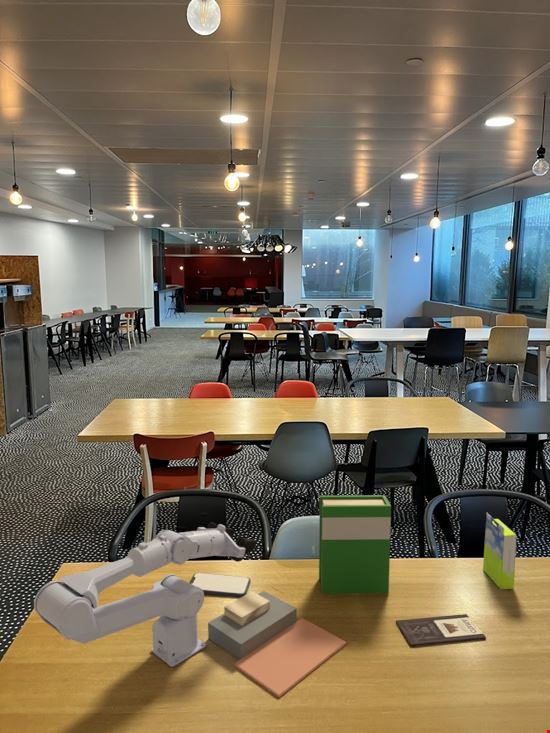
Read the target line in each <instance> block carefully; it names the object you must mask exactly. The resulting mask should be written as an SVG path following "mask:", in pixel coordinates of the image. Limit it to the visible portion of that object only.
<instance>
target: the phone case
mask: <svg viewBox="0 0 550 733" xmlns="http://www.w3.org/2000/svg"><path fill="white" fill-rule="evenodd" d="M188 583H190V584H192V585H194V586H196V587H199V588H201V589H202V590H203V592H204V596H216V597H229V598H241V597H243V596H245V595H246V594H248V591H249V588H250V586H251V578H250V577H248V576H247V577H246V576H238V575H225V574H215V573H206V572H205V573H204V572H196V573H194V574H193V575H192V577H191V579H190V581H189V582H188Z"/></svg>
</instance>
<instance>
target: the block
mask: <svg viewBox="0 0 550 733" xmlns="http://www.w3.org/2000/svg"><path fill="white" fill-rule="evenodd" d="M257 594H258V595H260V596H262V597H264V598H265V599H267V600H269V601H270V609H269V610H267V611H265V612H264V613H262V614H261V615H259V616H257V617H256V618H254V619H252V620H251V621H249V622H247V623H246V624H244V625H243V626H242V625H240V624H238V623H237V622H235V621H234V620H232V619H230V618H229V617H227V616H225V615H224V613H222V614H221V615H219V616H217V617H216V618H213V619H212V620H210V621H209V622H207V629H208V631H207V635H208V636H207V638H208V640H210V641H211V642H212V643H214V644H215V645H216V646H218V647H220V648H221V649H222V648H223V649H222V650H224V651H225V650H226V651H225V652H227V653H228V654H230V655H231V656H233V657H235V659H237V661H239V660H240V659H242V658H243V657H245V656H246V655H248V654H249V653H251V652H252V651H254V650H255V649H257V648H258V647H260V646H261V645H263V644H264V643H266V642H267V641H268V640H270V639H271V638H273V637H274V636H276V635H277V634H279V633H280V632H282V631H283V630H285V629H286V628H288V627H289V626H291V625H292V624H294V623H295V622H297V621H298V620H297V618H298V616H297V615H298V613H297V612H298V611H297V610H298V609H297V608H296V606H293V605H292V604H289V603H287V602H286V601H284V600H282V599H281V598H279V597H277V596H275V595H273V594H271V593H270V592H267V591H265V590H263V591H261V592H259V593H257Z"/></svg>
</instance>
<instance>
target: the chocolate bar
mask: <svg viewBox="0 0 550 733" xmlns="http://www.w3.org/2000/svg"><path fill="white" fill-rule="evenodd" d="M395 624H396V626H397V628H398V629H399V631H400V632H401V633H402V635H403V637H404V638H405V640H406V642H407V644H408V645H409V647H410V648H415V647H425V646H433V645H434V646H435V645H446V644H452V643H453V644H454V643H455V644H456V643H463V642H465V643H466V642H474V641H483V640H486V639H487V637H486V635H485V634H484V633H483V632H482V631H481V630H480V628H479V627H478V626H477V624H476V623H475V622H474V621H473V619H472V618H470V616H469V615H468V614H467V613H464V614H453V615H452V614H451V615H444V616H443V615H441V616H433V617H432V616H431V617H430V616H428V617H422V618H421V617H420V618H411V619H410V618H409V619H400V620H397V619H396V620H395Z"/></svg>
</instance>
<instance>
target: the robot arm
mask: <svg viewBox="0 0 550 733" xmlns="http://www.w3.org/2000/svg"><path fill="white" fill-rule="evenodd" d="M234 533H235V530H234V529H232V528H227V527H226V526H225V525H223V524H221V523H219V524H217V523H214V522H212V521H211V522H208V524H207V528H206V527H204V526H199V527H197V529H196V530H191V531H184V532H175V531H173V530H170V529H164V530H160V532H158V533H157V534H156V536H155V538H153V539H151V541H150V540H149V541H148V542H144V541H142V542H140V543H138V546H135V547H133V548H131V549H130V550H129V551H128V554H127V556H126V557H124V558H122V559H121V558H120V559H119V560H115V561H113V562H110V563H107V564H104V565H101V566H98V567H96V568H92V569H90V570H87V571H84V572H78V573H73V574H67V575H66V574H65V575H64V576H62V577H60V578H58V580H52V581H49V582H47V583H45V584H44V585H43V586H42V587H41V588H40V589H39V590H38V591H37V593H36V595H35V598H34V600H33V608H34V611H35V613H36V614H37V615H38V617H39V618H40V619H41V620H42V621H43V622H44V623H45V624H47V625H49V626H50V627H51V628H52V629H54V630H55V631H56V632H58V633H59V634H60V635H61V636H63V638H64V639H66V641H70V640H71V641H74V642H77V643H80V644H88V643H89V642H93V641H96V640H98V639H100V638H104V637H107V636H109V635H111V634H114V633H117V632H120V631H123V630H126V629H128V628H131V627H133V626H136V625H139V624H142V623H144V622H145V623H146V622H147V621H150V620H152V619H156V618H157V619H156V620H155V621H153V624H152V628H151V629H152V647H151V649H150V651H151V652H152V653H153V654H154V655H155V656H157V657H158V658H159V659H161V660H162V661H163V662H164V663H166V664H167V665H168V666H170V667H172V668H174V667H175V666H176V665H178V664H180V663H182V662H183V661H185V660H186V659H187V660H188V658H190V657H192V656H193V655H195V654H196V653H198V652H199V651H201V650H203V649H205V648H206V647H207V644H206V643H205V642H204V641H202V640H201V639H200V638H198V636H199V635H198V634H199V633H198V629H199V628H198V613H199V612H200V610H201V609H202V607H203V605H204V603H205V595H204V592H203V590H202V589H201V588H199V587H196V586H194V585H192V584H190V583H189V582H188V581H186V580H184V579H183V578H180V577H178V575H176V574H174V573H169V574H166V575H165V576H164V577H163V578H161V580H158V581H156V582H154V583H153V584H152V585H151V589H150V590H146V591H144V592H141V593H138V594H137V593H136V594H135V595H132V596H128V597H125V598H122V599H119V600H115V601H112V602H109V603H106V604H103V605H99V606H98V604H99V599H100V593H101V592H103V591H104V590H106V589H109V588H110V587H112V586H114V585H116V584H117V583H119V582H121V581H122V580H124V579H125V580H126V578H128V577H130V576H135V577H138V578H141V577H143V576H146V575H149V574H150V573H152V572H154V571H157V570H159V569H160V568H164V567H165V566H168V565H169V564H171V563H173V564H176V565H178V566H181V565H183V564H184V565H185V563H186V562H187V561H188V560H189V559H190V560H191V559H197V558H206V557H213V556H216V557H231V560H233V561H235V562H236V563H237V562H241V561H242V560H243V559H244V558H245V556H247V555H248V554H249V553H251V552H253V551H254V550H256V546H257V541H256V540H254V539H251V538H250V539H249V538H244V536H243V537H242V536H241V535H238V537H237V540H236V542H235V541H234V540H233V538H234ZM158 617H159V618H158Z"/></svg>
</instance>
